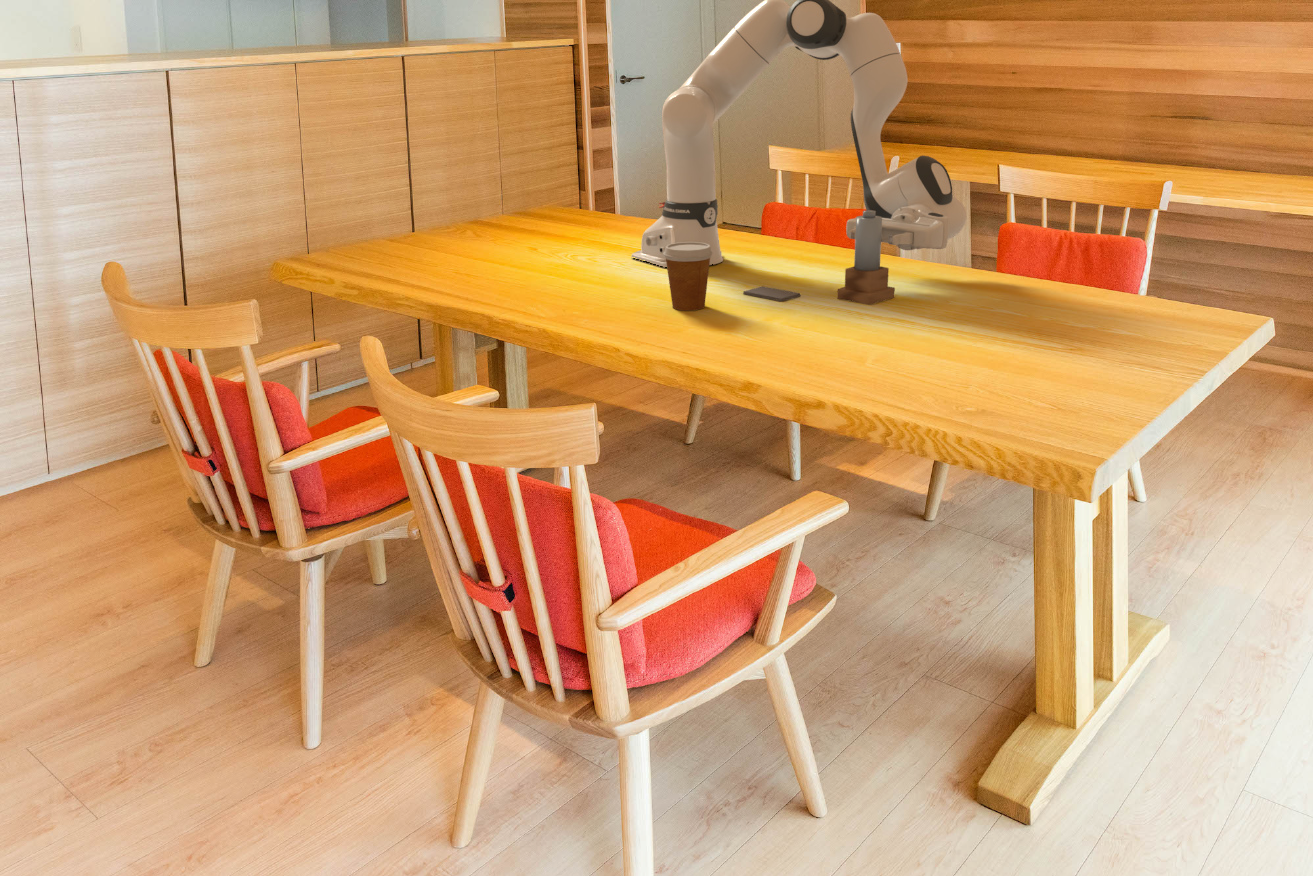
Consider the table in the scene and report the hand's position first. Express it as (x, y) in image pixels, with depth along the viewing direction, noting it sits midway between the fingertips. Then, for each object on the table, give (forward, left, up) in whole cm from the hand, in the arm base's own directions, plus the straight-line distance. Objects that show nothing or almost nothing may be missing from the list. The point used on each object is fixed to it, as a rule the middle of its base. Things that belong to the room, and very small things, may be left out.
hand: (871, 237), depth 223 cm
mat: (-16, -11, -12) cm, 23 cm away
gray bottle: (0, -1, -6) cm, 6 cm away
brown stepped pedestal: (0, -1, -12) cm, 12 cm away
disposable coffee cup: (-22, -29, -12) cm, 38 cm away
